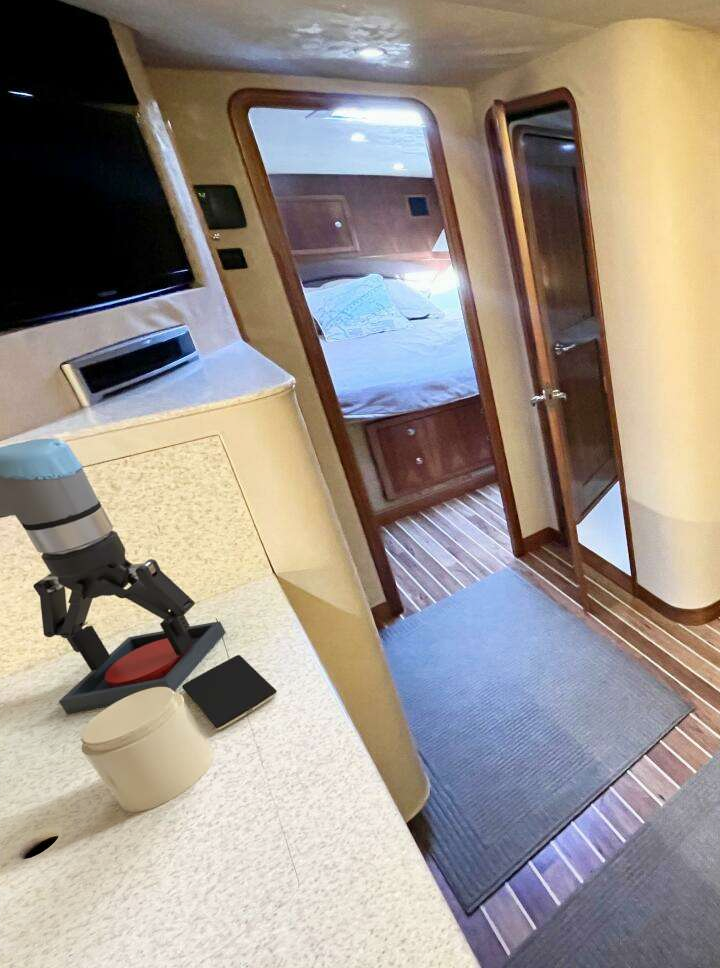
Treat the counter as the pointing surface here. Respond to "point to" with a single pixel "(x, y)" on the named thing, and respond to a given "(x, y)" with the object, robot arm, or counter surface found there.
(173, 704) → the jar
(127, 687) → the tray
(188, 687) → the smartphone
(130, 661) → the lid
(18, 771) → the counter surface
